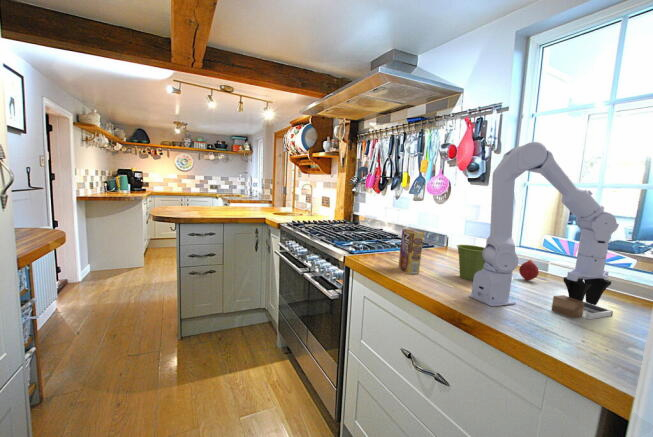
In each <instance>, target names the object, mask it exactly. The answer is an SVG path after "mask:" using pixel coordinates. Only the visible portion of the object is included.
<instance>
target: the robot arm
mask: <svg viewBox="0 0 653 437" xmlns="http://www.w3.org/2000/svg"><path fill="white" fill-rule="evenodd" d="M525 172H530V173H531V172H532V173H536V174H540V175H542V176H543V177H544V179H545V180H547V181H548V182H549V183H550V184H551V185H552V186H553V187H554V188H555V190H557V191H558V192H559V193H560V194H561V195H562V196H561V203H562V204H563V206H565V207H566V208H567V209H568V211H569V212H570V213H571V214H572V215H573V216H574V217H575V218H576V225H577V227H578V228H580V229H581V230H580V231H581V232H580V238H579V243H578V248H577V249H578V250H577V255H576V263H575V268H573V269H572V270H571V271H568V272H567V275H566V276H563V279H562V280H563V283H564V285H565V288H566V289H567V293H568V297H571V298H574V299H577V300H579V301H582V302H584V299H585V302H586V303H589V304H592V305H595V306H597V304H598V303H599V301H600V299H601V297H602V295H603V293H604V292H605V291H606V290H607V289H608V288H609V286H611V285H612V281H611V280H608V279H609V277H610V276H609V271H607V270H605V266H606V260H607V255H608V250H609V249H608V248H609V244H610V240H611V239H612V234H613V233H615V232H616V231H617V230H618V228H619V227H620V224H619V223H617V219H616V217H615V216H614V215H613V214H612V213H610V212H606V211H605V210H604V209H605V207H604V206H603V205H601V204H599V203H598V201H596V199H594V197H593V196H592V195H593V192H591V190H587V189H586V188H584V187H583V188H582V187H577V186H575V184H574V182H572V179H570V178H569V176H568V175H567V173H565V171H564V170H563V169H562V167H561V166H560V165H559V163H558V162H556V160H555V157H554V154H553V152H551V151H550V150H548V149H547V147H546V146H545V145H544V144H543V143H541V142H539V141H530V142H527V143H525V144H523V145H521V146H515V147H513V148H511V149H510V150H508V151H506V152H505V153H504V154H503V156H502V159H501V160H500V162H499V163H498V165H497V166H496V167H495V169H494V170H493V172H492V183H491V184H492V187H491V204H490V205H491V206H490V209H491V210H490V228H489V232H490V233H489V236H488V237H487V239H486V242H485V247H484V250H483V253H482V256H483V259H484V260H485V261H486V262H485V264H484V266H483V269H482V270H481V271H478V272H476V273H475V275H474V278H473V281H472V286H471V293H469V294H468V297H470V298H472V299H475V300H477V301H480V302H481V303H483V304H486V305H488V306H490V307H499V306H507V305H515V304H517V303H516V302H517V301H514V300H513V299H510V294H511V293H510V292H511V287H512V278H513V272H514V271H515V269H516V268H517V267H518V265H519V257H518V255H517V253H516V245H515V242H514V240H513V222H514V221H513V220H514V219H513V216H514V201H515V200H514V196H515V180H516V179H518V177H520V176H521V175H523V174H524V173H525Z"/></svg>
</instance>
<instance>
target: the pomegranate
mask: <svg viewBox="0 0 653 437" xmlns="http://www.w3.org/2000/svg"><path fill="white" fill-rule="evenodd" d="M518 270H519V274H520V276H521V277H522V279H524V280H525V281H526V282H529V281H532V280H534V279H535V278H537V277H538V275H539V268H538V266H537V264H535V263H534V262H533V260H532V259H531V258H529V259H528V260H527V261H526V262H524V263H522V264H521V265H520V266H519V268H518Z"/></svg>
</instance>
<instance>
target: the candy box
mask: <svg viewBox="0 0 653 437" xmlns="http://www.w3.org/2000/svg"><path fill="white" fill-rule="evenodd" d="M424 234H425V233H424V232H422V231H418V230H415V229H412V228H402V231H401V239H400V249H399V257H398V265H397V267H398V269H399V270H401V271H404V272H405V273H407V274H409V275H419V274H420V267H421V261H422V260H421V259H422V251H423V241H424Z"/></svg>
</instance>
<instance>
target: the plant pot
mask: <svg viewBox="0 0 653 437" xmlns="http://www.w3.org/2000/svg"><path fill="white" fill-rule="evenodd" d="M456 248H457V253H458V261H459V262H458V264H459V265H458V266H459V277H460V278H461V279H464V280H466V281H471V282H473V278H474V275H475V273H476V272H478V271H481V270H482V269H483V266H484V264H485V262H486V261H485V260H484V259H483V256H482V253H483V250H484V248H485V247H483V246H478V245H473V244H472V245H471V244H456Z"/></svg>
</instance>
